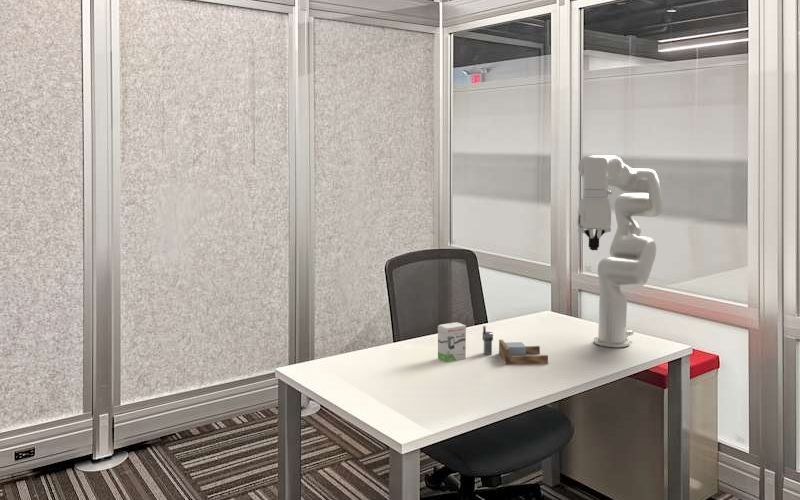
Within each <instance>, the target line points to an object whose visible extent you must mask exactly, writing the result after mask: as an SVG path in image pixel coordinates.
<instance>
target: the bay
mask: <svg viewBox="0 0 800 500" xmlns="http://www.w3.org/2000/svg"><path fill="white" fill-rule="evenodd" d="M506 343H507V342H505V341H504V340H503V339H499V340H498V354H499V356H500V357H501V359H502V360H503V362H504V364H505V365H522V364H523V365H524V364H525V365H529V364H530V365H531V364H533V365H534V364H535V365H536V364H539V365H540V364H549V355H548V354H540V352H541V351H540V348H541V346H540V345H525V346H526V356H510V349H509V348H508V346H507V345H506Z"/></svg>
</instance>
